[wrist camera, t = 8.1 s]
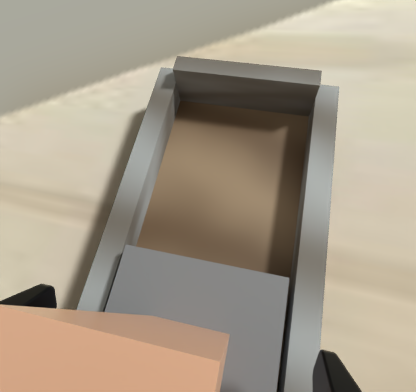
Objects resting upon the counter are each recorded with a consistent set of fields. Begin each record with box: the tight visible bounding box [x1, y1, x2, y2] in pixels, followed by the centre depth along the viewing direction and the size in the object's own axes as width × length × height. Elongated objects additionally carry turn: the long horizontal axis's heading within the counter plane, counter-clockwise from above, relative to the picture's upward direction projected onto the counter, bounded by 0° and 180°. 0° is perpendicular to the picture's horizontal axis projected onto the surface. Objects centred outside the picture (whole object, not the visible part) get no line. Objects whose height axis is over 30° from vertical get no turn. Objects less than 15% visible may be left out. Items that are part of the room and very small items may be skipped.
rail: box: [76, 56, 339, 392], centre depth 15 cm, size 21×10×4 cm, turn 168°
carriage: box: [0, 245, 289, 392], centre depth 8 cm, size 8×7×11 cm
